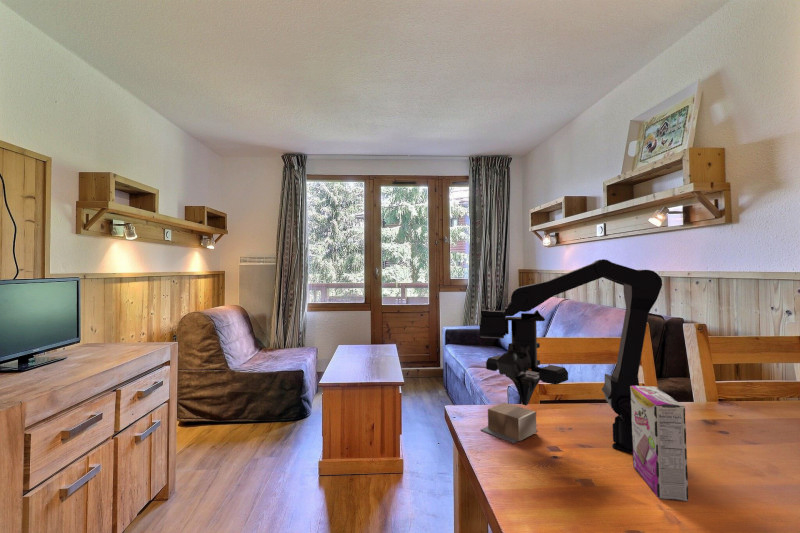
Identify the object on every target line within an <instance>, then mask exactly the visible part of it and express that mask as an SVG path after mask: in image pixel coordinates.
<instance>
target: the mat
mask: <svg viewBox="0 0 800 533" xmlns="http://www.w3.org/2000/svg"><path fill="white" fill-rule="evenodd" d="M480 431H481V432H483V433H486V434H489V435H491V436H493V437H497V438H500V439H501V440H504V441H507V442H510V443H512V444H515V443H517V442H520V441H519V440H516V439H514V438H511V437H508V436H505V435H503V434H500V433H497V432H495V431H492V430H489V429H488V425H487V426H486V427H483V428H481V429H480ZM536 432H538V429H536Z"/></svg>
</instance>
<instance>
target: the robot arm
mask: <svg viewBox="0 0 800 533" xmlns="http://www.w3.org/2000/svg"><path fill="white" fill-rule="evenodd" d="M601 278H603V279H606V280H607V281H610V282H613V283H616V284H618V285H621V286H623V298H624V304H625V313H624V318H623V326H622V330H621V334H620V343H619V348H618V354H617V359H616V366H615V369H614V371H613V373H611V374H612V375H610V374H608V373H604V384H603V387H602V388H601V391H602V392H603V394H604V398H605V401H606V402H607V403H608V405H609V406H610V408H611V409H612V411H613V412H614V413H615V414H616V415H617V416H615V417H614V422H613V423H612V441H613V444H611V446H612V448H614V449H616V450H620V451H623V452H625V453H630V454H632V455H633V439H632V415H631V390H630V386H640V382H639V371H640V366H641V361H642V360H641V359H642V356H643V355H642V354H643V348H644V342H645V336H646V333H647V332H646V331H647V326H648V320H649V314H650V312H651V309H652V308H653V306H654V305H655V303H656V302H657V300H658V298H659V295H660V292H661V289H662V288H663V279H662V277H661V276H660V275H659V274H658V273H657V272H655V271H654V270H651V269H634V268H632V267H630V266H629V267H628V266H625V265H621V264H618V263H615V262H612V261H610V260H608V259H604V258H603V259H597V260H595V261H593V262H592V263H590V264H587V265H584V266H582V267H579V268H577V269H574V270H572V271H569V272H566V273H564V274H561V275H560V276H557V277H554V278H551V279H549V280H546V281H541V282H537V283H531V284H528V285H527V284H526V285H522V286H518V287H516V288H515V289H514V290H513V291H512V293H511V295H510V302H509V304H507V306H505V307H504V309H503V310H489V309H481V311H480V322H479V337H480V338H483V339H484V338H485V339H505V337H506V336H507V335H509V334H510V332H509V331H510V330H509V329H510V328H509V322H511V323H510V324H511V343H508V345H507V351H506V352H504V353H503V354H502V355H494V356H491V357H488V358H487V360H486V361H485V369H486V370H487V371H492V372H497V371H498V373H499V374H500V375H502V376H503V375H505V377H506V378H509V379H510V380H511V381H512V382H513V384H514V385H515V388H516V390H517V391H516V392H517V393H518V397H519V399H520V402H521V404H522V405H523V406H528V405H529V402H530V401H531V398H532V396H533V394H534V391H535V389H536V387H537V385H538V384H539V383H540V381H541V382H542V383H546V384H551V385H559V384H562V383H564V382H566V381H569V372H568V370H567V369H566V367H563V366H558V365H552V364H549V365H546V366H543V367H541V360H539V359H538V349H539V348H540V347H541V346H540V344H541V343H540V342H537V341H538V340H537V338H538V337H537V335H538V333H537V329H538V328H537V322H545V320H546V318H545V317H544V316H543V315H542V314H541V313H540V312H539V310H538V309H536V310H535V311H534V312H533V313H531V312H530V311H532V310H534V309H535V308H536V307H539V306H540V305H541V304H544V303H545V302H546V301H548V300H549V299H551V298H553V297H555V296H557V295H560V294H563V293H565V292H567V291H570V290H573V289H575V288H577V287H581V286H584V285H586V284H589V283H591V282H594V281H596V280H598V279H601ZM519 312H521V313H520V316H515V315H517V314H518V313H519ZM526 312H527V313H526ZM529 312H530V313H529ZM539 366H540V367H539Z"/></svg>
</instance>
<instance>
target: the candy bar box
mask: <svg viewBox="0 0 800 533" xmlns="http://www.w3.org/2000/svg"><path fill="white" fill-rule="evenodd" d="M630 390H631V415H632V439H633V454H632V461H633V462H632V465H633V468H634V470H635V471H636V472H637V473H638V474H639V476H640V477H641V478H642V479H643V481H644V482H645V483H646V485H648V488H650V489H651V491H652V492H653V494H654V495H656V497H657V498H658V499H659V500H663V501H678V502H689V478H688V477H689V474H688V452H687V451H688V450H687V449H688V448H687V427H686V426H687V425H686V424H687V423H686V405H684V404H682V403H681V402H680V401H678V400H676V399H675V398H673V397H672V396H670V395H669V394H667V392H664V391H663V390H662V389H660V388H659V387H658V386H650V385H639V386H630Z"/></svg>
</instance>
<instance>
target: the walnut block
mask: <svg viewBox="0 0 800 533" xmlns="http://www.w3.org/2000/svg"><path fill="white" fill-rule="evenodd" d="M487 426H488V429H489V430H492V431H495V432H497V433H500V434H503V435H505V436H508V437H511V438H514V439H516V440H519V441H518V442H520V441H523V440H525V439H526V438H528V437H530V436H532V435H534V434H537V431H536V430H537V412H536V411H534V410H531V409H527V408H524V407H521V406H517V405H514V404H511V403H507V402H502V403H500V404H497V405H494V406H492V407H489V408H487Z"/></svg>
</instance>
